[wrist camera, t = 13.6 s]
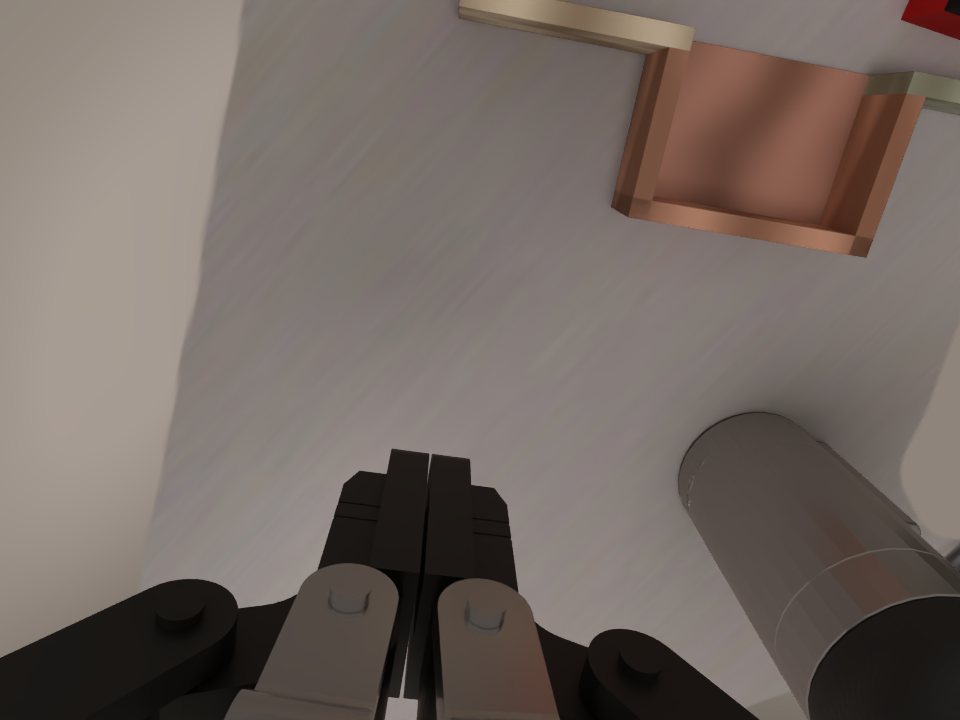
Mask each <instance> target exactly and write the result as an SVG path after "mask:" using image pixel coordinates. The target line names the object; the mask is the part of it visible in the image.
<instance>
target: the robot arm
mask: <svg viewBox="0 0 960 720" xmlns="http://www.w3.org/2000/svg"><path fill="white" fill-rule="evenodd" d="M428 464H429V454H428V453H421V452H413V451H406V450H398V449H392V450H391V455H390V460H389V465H388V470H387V474H381V473H373V472H365V471H359V472H358V473H356V474H355V475H354V476H353V477H352V478H350V479H349V480H348V481H347V482H346V483H344V485H343V488H342V492H341V495H340V498H339V502H338V505H337V508H336V511H335V515H334V519H333V521H332V524H331V528H330V531H329V534H328V538H327V541H326V544H325V547H324V551H323V554H322V557H321V560H320V564H319V567H318V570H317V571H316V572H314V573H312V574H311V575H310V576H308V578H307V579H306V580H305V581H304V582H303V584H302V585H301V587H300V589H299V592H298V594H297V595H295V596H293V597H291V598H289V599H286V600H284V601H281V602H277V603H274V604H269V605H263V606H255V607H247V608H239V609H238V606H237V602H236V600H235V598H234V596H233V595H232V594H231V593H230V592H229V591H228V590H227V589H226V588H224V587H223V586H221V585H218V584H216V583H213V582H210V581H206V580H199V579H182V580H175V581H169V582H166V583H162V584H159V585H157V586H154V587H152V588H149V589H147V590H145V591H143V592H141V593H139V594H136V595H134V596H132V597H130V598H128V599H126V600H124V601H121V602H119V603H117V604H115V605H113V606H111V607H109V608H106V609H104V610H102V611H100V612H98V613H96V614H94V615H92V616H89V617H87V618H85V619H83V620H81V621H79V622H77V623H74V624H72V625H70V626H68V627H66V628H64V629H62V630H59V631H57V632H55V633H53V634H51V635H48V636H46V637H44V638H42V639H40V640H38V641H36V642H34V643H31V644H29V645H27V646H25V647H23V648H21V649H19V650H16V651H14V652H12V653H10V654H8V655H6V656H4V657H1V658H0V720H384V719H385V714H386V708H387V701H388V697H394V698H399V695H400V689H401V683H402V677H403V671H404V665H405V659H406V653H407V647H408V653H407V664H406V675H405V686H404V697H403V698H407V699H417V700H418V710H417V720H759V719H758V718H756V717H755V716H754V715H753V714H752V713H750V712H749V711H748V710H746V709H745V708H744V707H743V706H741V705H740V704H739V703H738V702H736V701H735V700H734V699H733V698H731V697H730V696H729V695H728V694H726V693H725V692H724V691H723V690H721V689H720V688H719V687H718V686H716V685H715V684H714V683H712V682H711V681H710V680H709V679H707V678H706V677H705V676H704V675H702V674H701V673H700V672H699V671H697V670H696V669H695V668H694V667H692V666H691V665H690V664H689V663H687V662H686V661H685V660H684V659H682V658H681V657H680V656H678V655H677V654H676V653H675V652H673V651H672V650H671V649H670V648H668V647H667V646H666V645H664V644H663V643H661V642H660V641H658V640H656V639H655V638H653V637H651V636H648V635H646V634H644V633H640V632H637V631H633V630H628V629H612V630H608V631H604V632H602V633H600V634H598V635H597V636H596V637H595V638H594V639H593V640H592V641H591V643H590V645H589V648H588V647H585V646H582V645H580V644H577V643H574V642H571V641H569V640H566V639H563V638H561V637H558V636H556V635H554V634H552V633H550V632H548V631H547V630H545V629H544V628H542V627H541V626H539V625H538V624H537V623H536V622H535V621H534V617H533V613H532V610H531V608H530V606H529V604H528V603H527V601H526V600H525V599H524V598H523V597H522V596H521V595H520V594H519V593H518V586H517V579H516V571H515V563H514V556H513V548H512V541H511V533H510V526H509V517H508V510H507V504H506V503H505V502H504V500H503V499H502V498H501V497H500V495H499V494H498V493H497V491H496V490H495V489H494V488H489V487H482V486H474V485H471V470H470V459H466V458H459V457H451V456H444V455H436V454H432V458H431V463H430V469H429V475H428ZM427 477H428V481H427ZM679 494H680V497H681V500H682V503H683V506H684V507H685V509H686V511H687V513H688V514H689V516H690V518H691V520H692V521H693V523H694V525H695V526H696V528H697V530H698V532H699V533H700V535H701V537H702V539H703V540H704V542H705V544H706V546H707V548H708V549H709V551H710V553H711V555H712V556H713V558H714V560H715V561H716V563H717V565H718V567H719V568H720V570H721V572H722V573H723V575H724V577H725V579H726V580H727V582H728V584H729V586H730V587H731V589H732V591H733V592H734V594H735V596H736V598H737V599H738V601H739V603H740V604H741V606H742V608H743V610H744V611H745V613H746V615H747V616H748V618H749V620H750V622H751V623H752V625H753V627H754V628H755V630H756V632H757V634H758V635H759V637H760V639H761V640H762V642H763V644H764V646H765V647H766V649H767V651H768V653H769V654H770V656H771V658H772V659H773V661H774V663H775V665H776V666H777V668H778V670H779V671H780V673H781V675H782V676H783V678H784V680H785V681H786V683H787V685H788V686H789V688H790V690H791V692H792V693H793V695H794V697H795V698H796V700H797V702H798V704H799V705H800V707H801V709H802V710H803V712H804V714H805V715H806V717H807V719H808V720H960V571H958V570H957V569H956V568H955V567H954V566H953V565H952V564H950V563H949V562H948V561H947V560H946V559H945V558H944V557H943V556H942V555H941V554H939V553H938V552H937V551H936V550H935V549H934V548H933V547H932V546H931V545H930V544H928V543H927V542H926V541H925V540H924V539H923V538H922V537H921V536H920V535H921V531H920V528H919V526H918V525H917V523H915V522H914V521H913V520H912V519H911V518H910V517H909V516H908V515H906V514H905V513H904V512H903V511H902V510H901V509H900V508H898V507H897V506H896V505H895V504H894V503H893V502H892V501H891V500H889V499H888V498H887V497H886V496H885V495H884V494H883V493H882V492H880V491H879V490H878V489H877V488H876V487H875V486H874V485H872V484H871V483H870V482H869V481H868V480H867V479H866V478H865V477H863V476H862V475H861V474H860V473H859V472H858V471H857V470H856V469H854V468H853V467H852V466H851V465H850V464H849V463H848V462H846V461H845V460H844V459H843V458H842V457H841V456H840V455H839V454H837V453H836V452H835V451H834V450H833V449H832V448H831V447H830V446H828V445H827V444H825V443H819V442H817V441H815V440H814V439H813V438H812V437H811V436H810V435H809V434H808V433H807V432H805V431H804V430H803V429H802V428H801V427H800V426H798V425H797V424H795V423H794V422H792V421H791V420H789V419H786V418H784V417H781V416H778V415H774V414H767V413H748V414H744V415H740V416H735V417H732V418H730V419H727V420H725V421H723V422H720V423H718V424H717V425H715V426H714V427H712V428H711V429H709V430H708V431H706V432H705V433H704V434H703V435H702V436H701V437H700V438H699V439H698V440H697V441H696V442H695V443H694V444H693V446H692V447H691V449H690V450H689V451H688V453H687V454H686V457H685V459H684V461H683V464H682V466H681V470H680V475H679ZM408 641H409V642H408Z"/></svg>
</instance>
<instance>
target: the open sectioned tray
mask: <svg viewBox="0 0 960 720" xmlns="http://www.w3.org/2000/svg"><path fill="white" fill-rule="evenodd" d="M459 18H461V19H466V20H471V21H476V22H481V23H487V24H492V25H497V26H502V27H507V28H512V29H518V30H523V31H528V32H533V33H538V34H543V35H549V36H554V37H559V38H564V39H569V40H575V41H580V42H585V43H590V44H595V45H600V46H606V47H611V48H616V49H621V50H626V51H631V52H637V53H642V54H647V55H646V59H645V64H644V68H643V72H642V77H641V81H640V85H639V89H638V94H637V98H636V102H635V107H634V111H633V115H632V120H631V124H630V128H629V133H628V137H627V141H626V145H625V150H624V154H623V158H622V163H621V167H620V171H619V176H618V180H617V184H616V189H615V193H614V197H613V201H612V206H611V207H612V208H613V209H615V210H617V211H619V212H620V213H622V214H624V215H625V216H627V217H630V218H636V219H642V220H648V221H653V222H659V223H665V224H671V225H677V226H683V227H689V228H694V229H700V230H706V231H712V232H718V233H724V234H730V235H736V236H741V237H747V238H753V239H759V240H765V241H771V242H777V243H783V244H788V245H794V246H800V247H806V248H812V249H818V250H824V251H830V252H835V253H841V254H847V255H853V256H859V257H865V258H866V257H867V255H868V252H869V249H870V246H871V244H872V241H873V238H874V236H875V233H876V230H877V227H878V225H879V222H880V219H881V217H882V214H883V211H884V209H885V206H886V203H887V200H888V198H889V195H890V192H891V190H892V187H893V184H894V182H895V179H896V176H897V173H898V171H899V168H900V165H901V163H902V160H903V157H904V154H905V152H906V149H907V146H908V144H909V141H910V138H911V136H912V133H913V130H914V127H915V125H916V122H917V119H918V117H919V114H920V111H921V108H926V109H931V110H936V111H942V112H947V113H952V114H957V115H960V80H956V79H951V78H946V77H941V76H936V75H931V74H926V73H921V72H916V71H912V72H901V73H891V74H881V75H871V76H869V75H864V74H859V73H854V72H849V71H844V70H839V69H834V68H828V67H823V66H818V65H813V64H808V63H803V62H798V61H793V60H788V59H783V58H778V57H773V56H767V55H762V54H757V53H752V52H747V51H742V50H737V49H732V48H727V47H722V46H717V45H711V44H706V43H701V42H696V41H693V37H694V33H695V29H696V28H694V27H689V26H684V25H679V24H674V23H669V22H664V21H659V20H654V19H649V18H644V17H639V16H634V15H629V14H624V13H619V12H614V11H609V10H604V9H599V8H594V7H589V6H584V5H579V4H574V3H568V2H563V1H558V0H460V4H459Z"/></svg>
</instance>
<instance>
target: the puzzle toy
mask: <svg viewBox="0 0 960 720" xmlns="http://www.w3.org/2000/svg"><path fill="white" fill-rule="evenodd" d="M901 20H903V21H906V22H909V23H912V24H915V25H918V26H921V27H924V28H926V29H929V30H932V31H935V32H938V33H941V34H944V35H947V36H950V37H953V38H956V39H959V40H960V0H909V2H908V5H907V7H906V9H905V11H904V14H903V16H902V18H901Z"/></svg>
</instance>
